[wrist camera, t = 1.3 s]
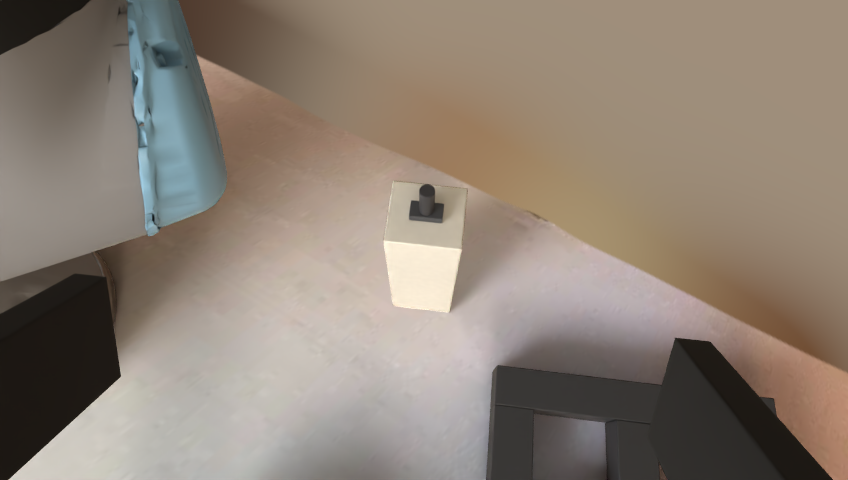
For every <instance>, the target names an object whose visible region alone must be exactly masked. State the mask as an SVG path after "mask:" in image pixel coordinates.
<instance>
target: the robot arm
mask: <svg viewBox="0 0 848 480" xmlns="http://www.w3.org/2000/svg"><path fill="white" fill-rule="evenodd" d="M226 184H227V171H226V164H225V159H224V154H223V150H222V145H221V141H220V137H219V133H218V129H217V125H216V122H215V118H214V114H213V110H212V107H211V103H210V100H209V96H208V93H207V89H206V86H205V83H204V79H203V76H202V73H201V69H200V66H199V63H198V60H197V56H196V53H195V50H194V47H193V44H192V40H191V37H190V34H189V31H188V28H187V25H186V22H185V19H184V16H183V13H182V10H181V8H180V4H179V2H178V0H0V480H8V479H10V478H11V477H12V476H13V475H14V474H15V473H16V472H17V471H18V470H19V469H20V468H22V467H23V466H24V465H25V464H26V463H27V462H28V461H29V460H30V459H31V458H32V457H34V456H35V455H36V454H37V453H38V452H39V451H40V450H41V449H42V448H43V447H44V446H46V445H47V444H48V443H49V442H50V441H51V440H52V439H53V438H54V437H55V436H56V435H58V434H59V433H60V432H61V431H62V430H63V429H64V428H65V427H66V426H67V425H68V424H70V423H71V422H72V421H73V420H74V419H75V418H76V417H77V416H78V415H79V414H80V413H82V412H83V411H84V410H85V409H86V408H87V407H88V406H89V405H90V404H91V403H92V402H94V401H95V400H96V399H97V398H98V397H99V396H100V395H101V394H102V393H103V392H104V391H106V390H107V389H108V388H109V387H110V386H111V385H112V384H113V383H114V382H115V381H116V380H118V379H119V378H120V377H121V374H120V367H119V360H118V353H117V346H116V339H115V332H114V325H113V324H114V320H115V313H116V292H115V286H114V282H113V279H112V275H111V273H110V271H109V269H108V267H107V265H106V263H105V262H104V260H103V259H102V258H101V257H100V255H99V254H98V253H97V252H96V251H97V250H100V249H104V248H107V247H110V246H113V245H116V244H119V243H122V242H125V241H128V240H132V239H135V238H138V237H141V236H144V235H148V236H152V235H154V234H156V233H158V232H159V231H160V228H162V227H164V226H167V225H170V224H172V223H175V222H177V221H180V220H183V219H185V218H188V217H191V216H193V215H196V214H199V213H201V212H204V211H206V210H208V209H209V208H211V207H212V206H214V205H215V204H216V203H217V202H218V201H219V199H220V198H221V196H222V195H223V193H224V191H225V188H226ZM647 439H648V441H649V443H650V445H651V447H652V449H653V451H654V453H655V455H656V457H657V459H658V461H659V463H660V465H661V467H662V469H663V471H664V473H665V475H666V477H667V479H668V480H833V479H832V478H831V477H830V476H829V475H828V474H827V473H826V471H825V470H824V469H823V468H822V467H821V466H820V465H819V464H818V462H817V461H816V460H815V459H814V458H813V457H812V456H811V455H810V453H809V452H808V451H807V450H806V449H805V448H804V447H803V446H802V444H801V443H800V442H799V441H798V440H797V439H796V438H795V436H794V435H793V434H792V433H791V432H790V431H789V430H788V429H787V427H786V426H785V425H784V424H783V423H782V422H781V421H780V420H779V418H778V417H777V416H776V415H775V414H774V413H773V412H772V411H771V409H770V408H769V407H768V406H767V405H766V404H765V403H764V402H763V400H762V399H761V398H760V397H759V396H758V395H757V394H756V393H755V391H754V390H753V389H752V388H751V387H750V386H749V385H748V384H747V382H746V381H745V380H744V379H743V378H742V377H741V376H740V375H739V373H738V372H737V371H736V370H735V369H734V368H733V367H732V366H731V364H730V363H729V362H728V361H727V360H726V359H725V358H724V357H723V355H722V354H721V353H720V352H719V351H718V350H717V349H716V348H715V346H714V345H713V344H712V343H711V342H709V341H700V340H691V339H681V338H675V341H674V344H673V348H672V351H671V355H670V358H669V362H668V365H667V369H666V372H665V376H664V379H663V383H662V386H661V390H660V393H659V397H658V400H657V404H656V407H655V411H654V414H653V417H652V421H651V424H650V428H649V431H648V435H647Z"/></svg>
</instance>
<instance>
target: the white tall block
mask: <svg viewBox="0 0 848 480" xmlns="http://www.w3.org/2000/svg"><path fill="white" fill-rule="evenodd" d="M467 192H468V190H467V189H466V188H457V187H448V186H439V185H430V184H420V183H410V182H401V181H393V185H392V191H391V197H390V203H389V209H388V215H387V221H386V227H385V233H384V239H383V243H384V249H385V256H386V263H387V269H388V276H389V282H390V289H391V296H392V302H393V306H398V307H406V308H415V309H423V310H432V311H440V312H450V308H451V303H452V298H453V293H454V288H455V283H456V278H457V273H458V268H459V263H460V258H461V253H462V246H463V235H464V224H465V213H466V203H467Z"/></svg>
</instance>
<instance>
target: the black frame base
mask: <svg viewBox="0 0 848 480" xmlns="http://www.w3.org/2000/svg"><path fill="white" fill-rule="evenodd" d="M661 386H662V385H657V384H649V383H641V382H632V381H624V380H616V379H607V378H599V377H591V376H583V375H574V374H566V373H558V372H549V371H541V370H533V369H524V368H516V367H508V366H499V365H498V366H497V367H496V368H495V369H494V371H493V374H492V391H491V409H490V425H489V442H488V459H487V475H486V480H532V467H533V426H534V414H542V415H550V416H558V417H566V418H574V419H582V420H590V421H598V422H606V423H605V429H606V461H607V480H660V473H659V461H658V459H657V457H656V455H655V453H654V451H653V449H652V447H651V445H650V443H649V441H648V439H647V435H648V431H649V428H650V424H651V421H652V417H653V414H654V411H655V407H656V404H657V400H658V397H659V393H660V390H661ZM760 398H761V399H762V400H763V402H764V403H765V404H766V405H767V406H768V407H769V408H770V409H771V411H772V412H773V413H774V414H775V415H776V416H777V414H776V408H775V402H774V399H773V398H765V397H760Z"/></svg>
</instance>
